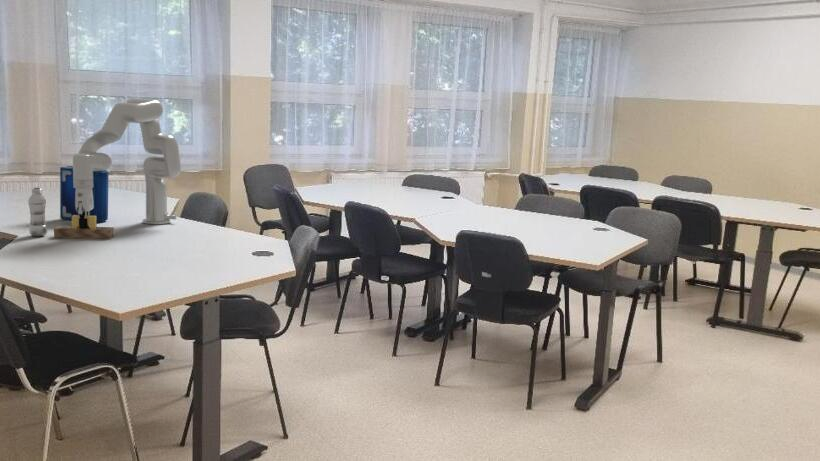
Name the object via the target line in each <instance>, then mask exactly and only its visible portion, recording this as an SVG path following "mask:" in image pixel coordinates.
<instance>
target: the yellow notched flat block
mask: <svg viewBox="0 0 820 461" xmlns="http://www.w3.org/2000/svg"><path fill="white" fill-rule="evenodd" d="M86 219H87V223H88V226H89V227H90V229H97V227H98V225H97V224H98V223H97V222H96V216H87V218H86ZM71 226H72V228H75V229H79V215H73V216H72V220H71Z"/></svg>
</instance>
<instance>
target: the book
mask: <svg viewBox="0 0 820 461" xmlns="http://www.w3.org/2000/svg"><path fill="white" fill-rule="evenodd" d="M59 173H60V175H59V179H60V180H59V186H60V187H59V188H60V190H59V191H60V192H59V194H60V195H59V199H60V200H59V204H60V206H59V207H60V208H59V210H60V211H59V213H60V215H59V216H60V217H59V218H60V220H65V221H72V216H73V215H78V212H77V211H76V206H75V194H76V193H75V192H76V188H74V187H73V165H67V166H61V167H60V170H59ZM92 191H93V203H94V208H93V209H92V210H91V211H89V216H96V223H104V222H106V221H108V220H109V171H108V170H104V171H97V170H94V171H93V188H92Z"/></svg>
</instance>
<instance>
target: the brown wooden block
mask: <svg viewBox="0 0 820 461" xmlns="http://www.w3.org/2000/svg"><path fill="white" fill-rule="evenodd" d="M114 228H115V227H113V226H97V229H90V226H89V227H88V228H79V229H75V228H72V225H57V226H55V227H54V228H53V238H54V239H80V240H81V239H83V240H85V239H86V240H111V239H113V238H114V236H115V232H114V231H115V229H114Z"/></svg>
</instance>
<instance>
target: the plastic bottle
mask: <svg viewBox="0 0 820 461" xmlns="http://www.w3.org/2000/svg"><path fill="white" fill-rule="evenodd" d="M42 193H43V188H42V187H32V188H31V195H30V196H29V198H28V200H27V202H28V208H29V213H30V214H29V216H30V217H29V218H30V219H29V220H30V221H29V222H30V223H29V224H30V225H29V233H30V235H31V236H32V237H43V236H46V235H47V234H48V227H47V226H48V225H47V223H46V207H47V206H46V205H47V204H46V202H47V201H46V198H45V196H44V195H43V194H42Z"/></svg>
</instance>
